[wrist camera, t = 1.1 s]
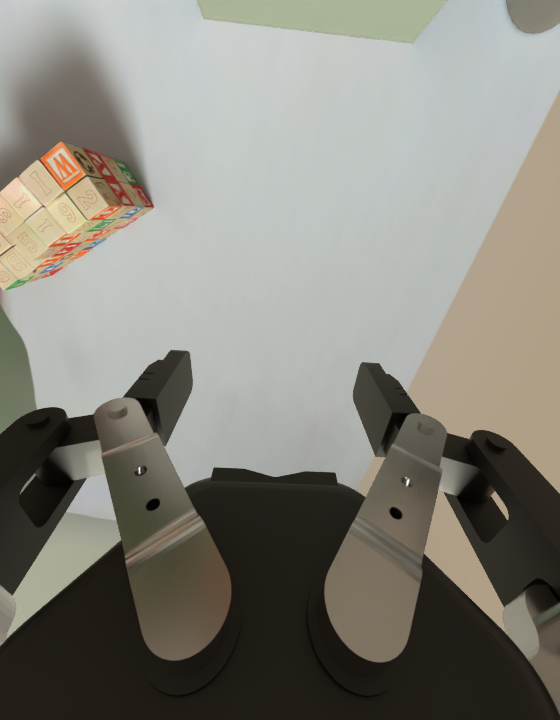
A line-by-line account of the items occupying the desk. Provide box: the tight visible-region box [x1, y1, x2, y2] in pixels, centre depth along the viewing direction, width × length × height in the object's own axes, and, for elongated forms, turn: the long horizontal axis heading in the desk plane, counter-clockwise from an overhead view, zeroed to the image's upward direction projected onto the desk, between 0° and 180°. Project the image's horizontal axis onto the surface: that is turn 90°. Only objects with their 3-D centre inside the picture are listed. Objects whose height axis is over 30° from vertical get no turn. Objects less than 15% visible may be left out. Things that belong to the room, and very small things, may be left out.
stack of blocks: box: [0, 141, 154, 290], centre depth 34 cm, size 21×6×12 cm, turn 117°
